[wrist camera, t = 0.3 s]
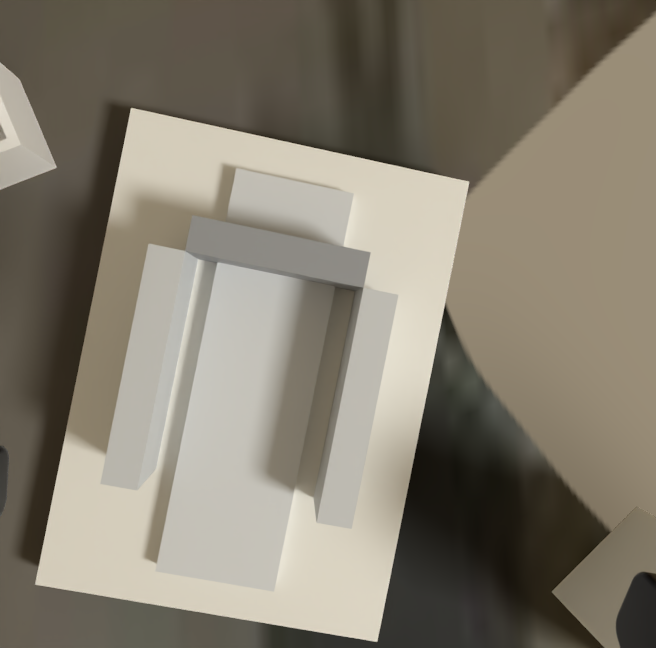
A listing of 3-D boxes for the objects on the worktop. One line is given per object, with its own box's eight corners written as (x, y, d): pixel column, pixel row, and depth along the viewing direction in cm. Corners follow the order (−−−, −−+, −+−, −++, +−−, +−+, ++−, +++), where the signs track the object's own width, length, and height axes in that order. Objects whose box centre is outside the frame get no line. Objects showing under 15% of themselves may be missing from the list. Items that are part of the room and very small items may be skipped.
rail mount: (372, 625, 24) (389, 686, 20) (48, 571, 23) (-2, 622, 20) (460, 188, 24) (493, 163, 20) (139, 118, 24) (108, 77, 20)
